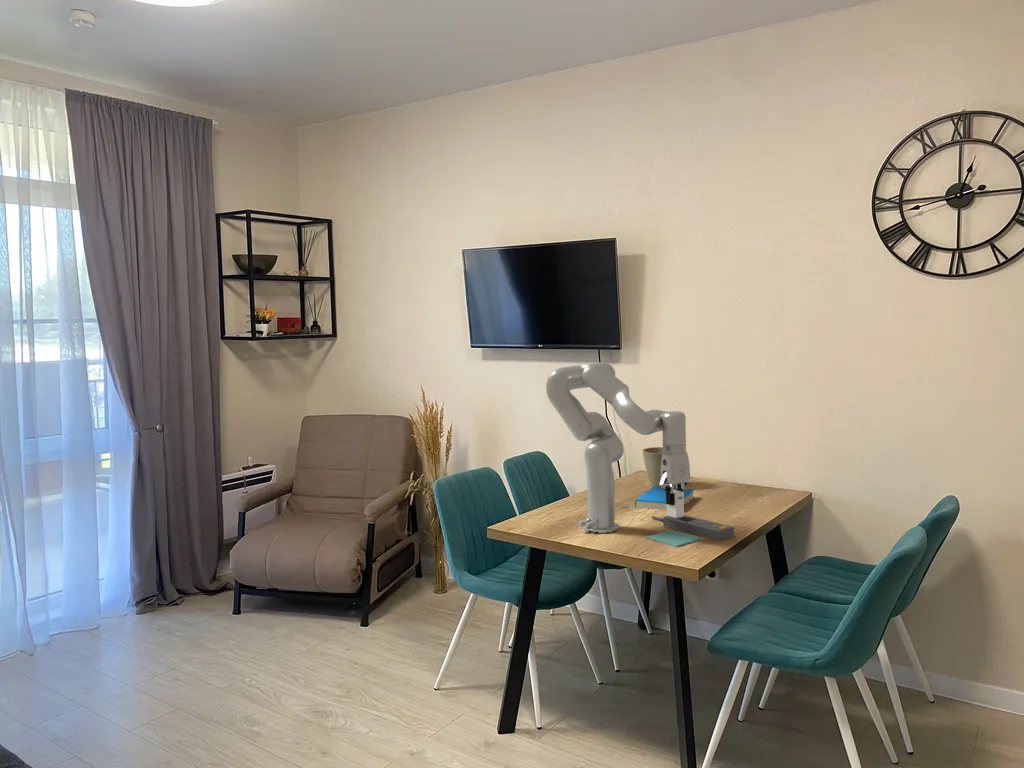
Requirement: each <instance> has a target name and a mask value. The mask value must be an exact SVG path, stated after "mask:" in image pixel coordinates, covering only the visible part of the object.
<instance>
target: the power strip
mask: <svg viewBox="0 0 1024 768" xmlns="http://www.w3.org/2000/svg"><path fill="white" fill-rule="evenodd" d="M650 518H651V519H652V518H653V520H656V519H657V520H656V521H659V520H660V522H662V523H663V525H665V526H664V527H667V526H669V527H668V528H671V527H672V528H671V529H674V528H676V529H675V530H678V529H679V530H678V531H682V530H683V531H682V532H685V531H686V533H689V532H690V533H689V534H692V535H697V536H700V535H701V536H700V537H705V538H708V537H709V538H708V539H711V538H712V540H715V539H716V540H717V541H719V540H720V541H722V539H723V540H725V538H726V539H728V537H729V538H731V536H732V537H734V536H735V527H734V526H731V525H726V524H723V523H719V522H714V521H711V520H706V519H703V518H699V517H694V516H691V515H686V514H684V516H680V517H677V518H675V517H671V516H667V515H666V516H663V517H658V516H654V515H652V516H651V517H650ZM733 535H734V536H733ZM716 540H715V541H716Z"/></svg>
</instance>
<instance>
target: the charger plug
mask: <svg viewBox="0 0 1024 768" xmlns="http://www.w3.org/2000/svg"><path fill="white" fill-rule="evenodd" d="M673 493H674V497H675V505H669V504H667V511H666V516H671V517H675V518H677V517H680V516H684V515H685V506H684V492H682V491H677V490H673Z"/></svg>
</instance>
